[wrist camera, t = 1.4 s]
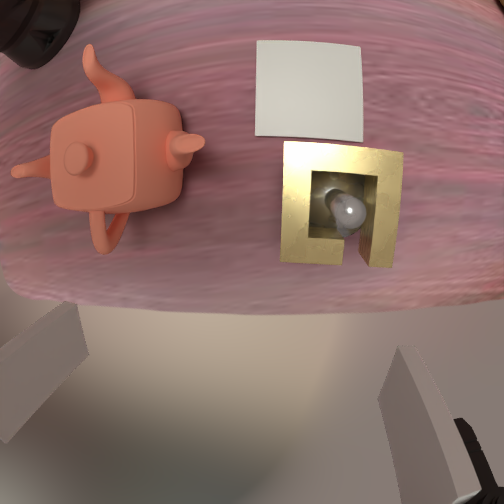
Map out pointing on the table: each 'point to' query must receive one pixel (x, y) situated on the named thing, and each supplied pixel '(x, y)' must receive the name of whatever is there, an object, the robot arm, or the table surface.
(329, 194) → the stand
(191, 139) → the pot
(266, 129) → the mat
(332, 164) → the link
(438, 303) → the table surface
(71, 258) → the table surface
